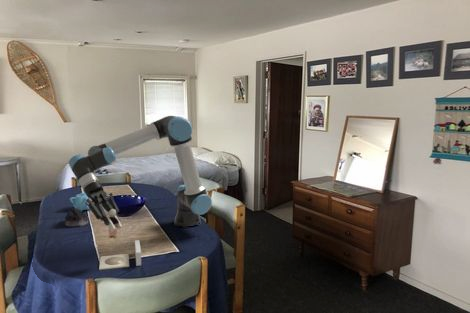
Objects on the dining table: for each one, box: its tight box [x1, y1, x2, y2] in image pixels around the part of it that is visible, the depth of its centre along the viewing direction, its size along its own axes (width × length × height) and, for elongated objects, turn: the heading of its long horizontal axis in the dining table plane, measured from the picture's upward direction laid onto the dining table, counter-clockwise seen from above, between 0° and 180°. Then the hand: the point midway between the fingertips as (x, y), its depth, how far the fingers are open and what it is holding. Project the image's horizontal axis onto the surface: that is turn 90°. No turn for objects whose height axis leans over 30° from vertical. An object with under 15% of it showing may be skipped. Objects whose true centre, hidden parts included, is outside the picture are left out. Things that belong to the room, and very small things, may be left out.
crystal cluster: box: [64, 208, 90, 227], centre depth 201 cm, size 13×14×10 cm
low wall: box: [134, 239, 142, 267], centre depth 159 cm, size 2×14×6 cm, turn 18°
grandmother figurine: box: [104, 209, 120, 240], centre depth 153 cm, size 8×4×13 cm, turn 83°
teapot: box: [69, 192, 94, 213], centre depth 226 cm, size 13×14×11 cm
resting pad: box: [98, 253, 130, 271], centre depth 156 cm, size 12×12×1 cm
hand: (116, 229), depth 151 cm, fingers closed on grandmother figurine, 3 cm apart
